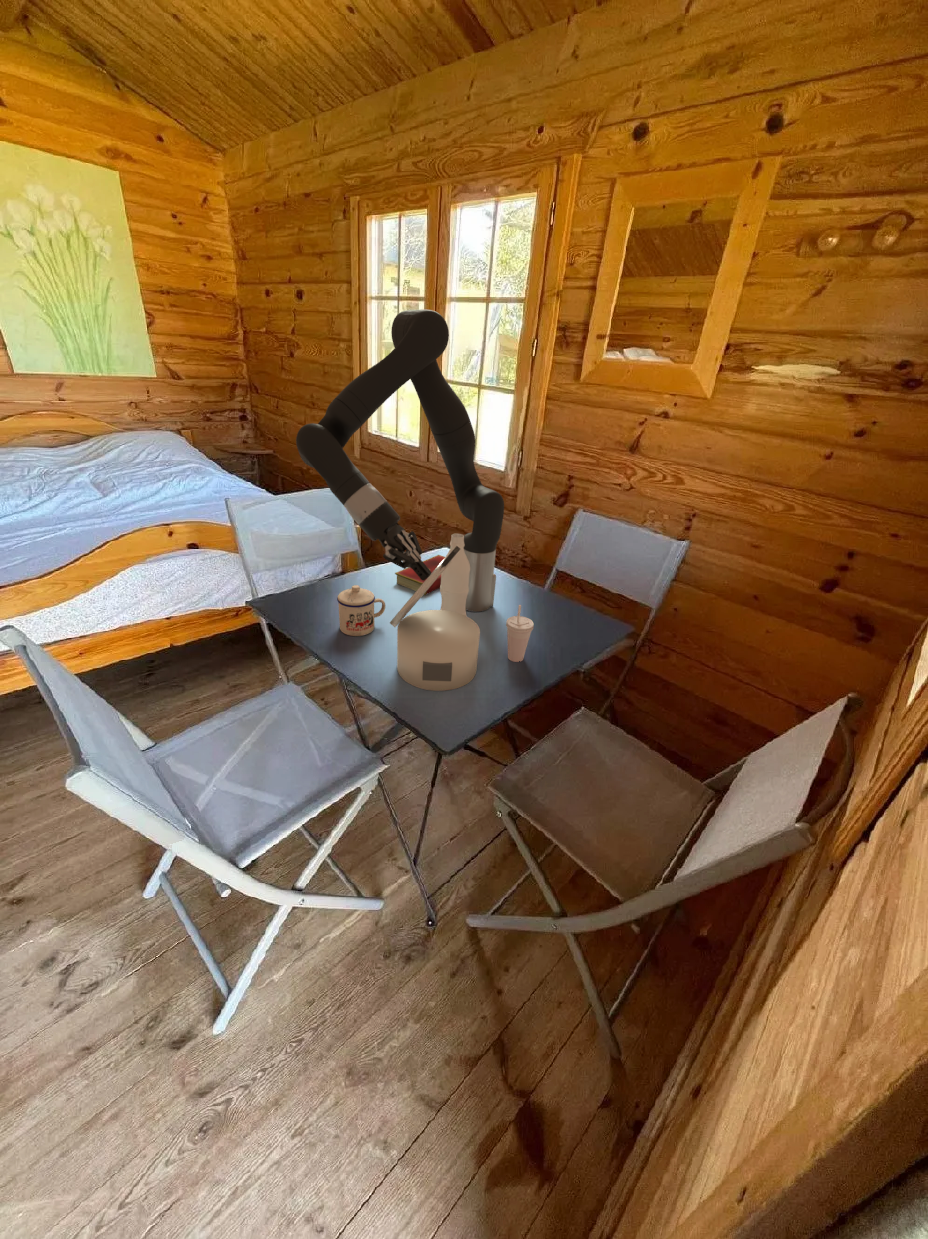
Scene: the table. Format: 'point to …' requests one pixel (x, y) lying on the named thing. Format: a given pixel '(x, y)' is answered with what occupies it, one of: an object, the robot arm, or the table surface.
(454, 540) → the water bottle
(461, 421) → the robot arm
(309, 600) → the table surface
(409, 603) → the cooker lid
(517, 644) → the smoothie
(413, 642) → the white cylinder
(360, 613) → the teacup with lid
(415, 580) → the hardcover book
